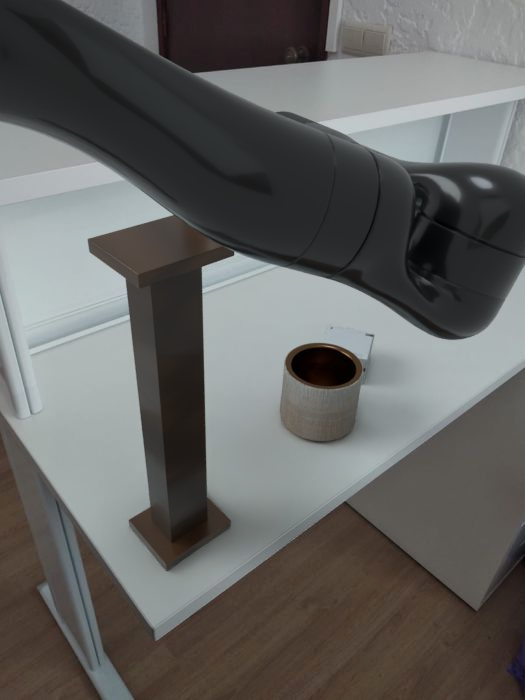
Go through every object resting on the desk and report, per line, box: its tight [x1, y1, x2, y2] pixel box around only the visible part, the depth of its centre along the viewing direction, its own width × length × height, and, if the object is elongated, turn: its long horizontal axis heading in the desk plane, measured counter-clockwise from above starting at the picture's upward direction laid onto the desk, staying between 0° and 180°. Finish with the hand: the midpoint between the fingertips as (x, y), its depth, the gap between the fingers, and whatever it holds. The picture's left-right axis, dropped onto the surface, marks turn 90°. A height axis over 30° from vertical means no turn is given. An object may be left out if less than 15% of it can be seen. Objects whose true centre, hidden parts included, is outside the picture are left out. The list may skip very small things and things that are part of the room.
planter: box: [279, 342, 363, 442], centre depth 81 cm, size 11×11×10 cm
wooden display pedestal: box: [87, 214, 235, 572], centre depth 57 cm, size 9×8×36 cm
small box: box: [321, 324, 375, 385], centre depth 92 cm, size 8×8×5 cm
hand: (208, 122), depth 58 cm, fingers closed on robot figurine, 4 cm apart
